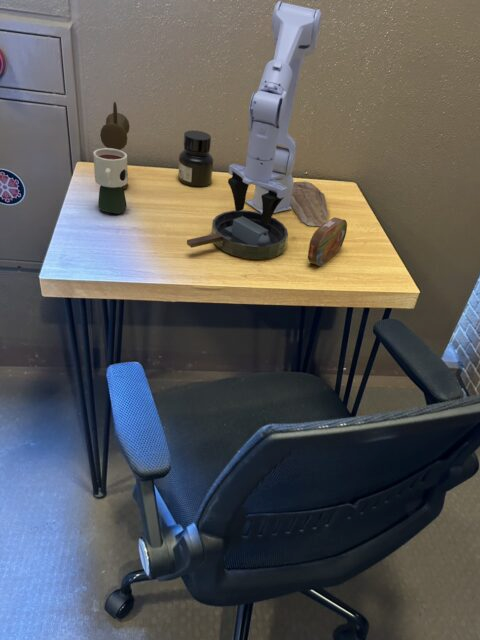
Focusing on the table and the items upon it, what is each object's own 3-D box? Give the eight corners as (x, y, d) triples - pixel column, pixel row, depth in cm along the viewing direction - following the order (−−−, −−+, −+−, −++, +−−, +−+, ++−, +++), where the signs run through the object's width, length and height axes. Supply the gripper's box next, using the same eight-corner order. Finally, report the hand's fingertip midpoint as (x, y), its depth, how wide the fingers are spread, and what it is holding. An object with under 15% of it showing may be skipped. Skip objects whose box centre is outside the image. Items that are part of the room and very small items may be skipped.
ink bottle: (176, 172, 145) (178, 127, 137) (208, 174, 147) (211, 129, 140) (180, 187, 138) (182, 140, 130) (213, 189, 140) (217, 143, 133)
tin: (314, 271, 116) (322, 237, 111) (302, 266, 117) (309, 231, 112) (343, 248, 126) (352, 216, 121) (331, 243, 127) (340, 211, 122)
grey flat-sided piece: (223, 230, 123) (225, 215, 120) (235, 226, 125) (237, 212, 123) (261, 252, 118) (263, 237, 115) (272, 248, 120) (274, 232, 118)
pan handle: (217, 236, 116) (218, 232, 115) (222, 240, 115) (222, 236, 114) (186, 244, 111) (186, 239, 111) (191, 248, 110) (191, 243, 110)
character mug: (125, 222, 119) (124, 165, 111) (92, 218, 118) (88, 161, 110) (131, 201, 127) (130, 147, 119) (100, 198, 126) (97, 143, 118)
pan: (254, 218, 131) (256, 205, 129) (300, 251, 122) (303, 237, 120) (196, 231, 121) (197, 217, 119) (241, 267, 112) (243, 253, 110)
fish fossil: (339, 227, 135) (340, 223, 134) (300, 228, 133) (301, 224, 132) (313, 183, 153) (314, 180, 152) (279, 184, 151) (279, 180, 150)
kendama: (103, 193, 128) (98, 106, 115) (107, 177, 135) (103, 93, 122) (128, 196, 129) (126, 110, 116) (131, 180, 136) (130, 97, 123)
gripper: (221, 146, 109) (216, 208, 118) (276, 171, 103) (266, 234, 112) (243, 141, 114) (236, 201, 122) (297, 164, 108) (285, 225, 117)
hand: (252, 216), depth 118 cm, fingers open, 7 cm apart
